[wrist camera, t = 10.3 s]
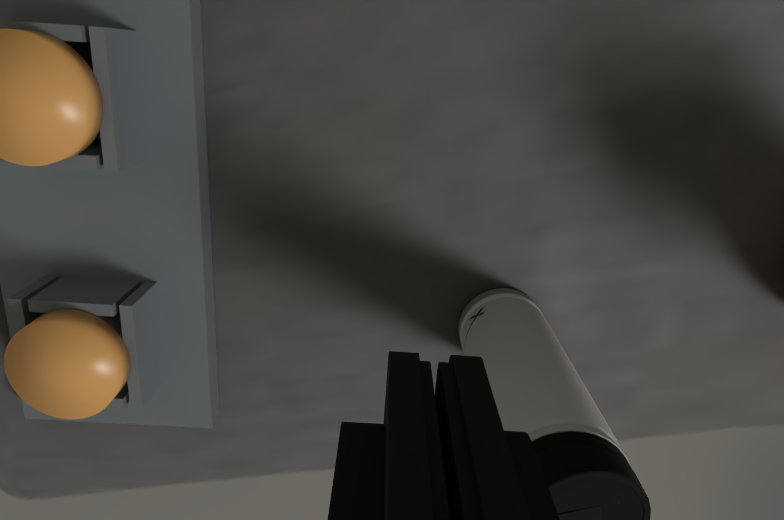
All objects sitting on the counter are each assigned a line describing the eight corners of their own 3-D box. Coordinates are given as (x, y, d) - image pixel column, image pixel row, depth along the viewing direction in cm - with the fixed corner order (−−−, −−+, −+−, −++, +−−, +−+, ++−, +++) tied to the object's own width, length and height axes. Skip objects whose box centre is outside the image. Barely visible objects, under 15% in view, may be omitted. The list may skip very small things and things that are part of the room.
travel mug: (446, 296, 41) (492, 498, 22) (536, 279, 41) (661, 470, 22) (460, 369, 43) (514, 611, 24) (546, 354, 43) (668, 587, 24)
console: (-39, -57, 33) (-127, -80, 28) (198, -40, 34) (159, -60, 28) (40, 402, 44) (-11, 453, 38) (219, 412, 44) (194, 464, 39)
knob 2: (51, 281, 38) (-6, 318, 33) (151, 287, 39) (111, 325, 33) (64, 368, 41) (13, 416, 35) (158, 373, 41) (122, 422, 35)
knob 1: (13, 29, 33) (-63, 23, 28) (129, 37, 33) (77, 33, 28) (30, 146, 35) (-36, 162, 30) (139, 153, 35) (93, 170, 30)
